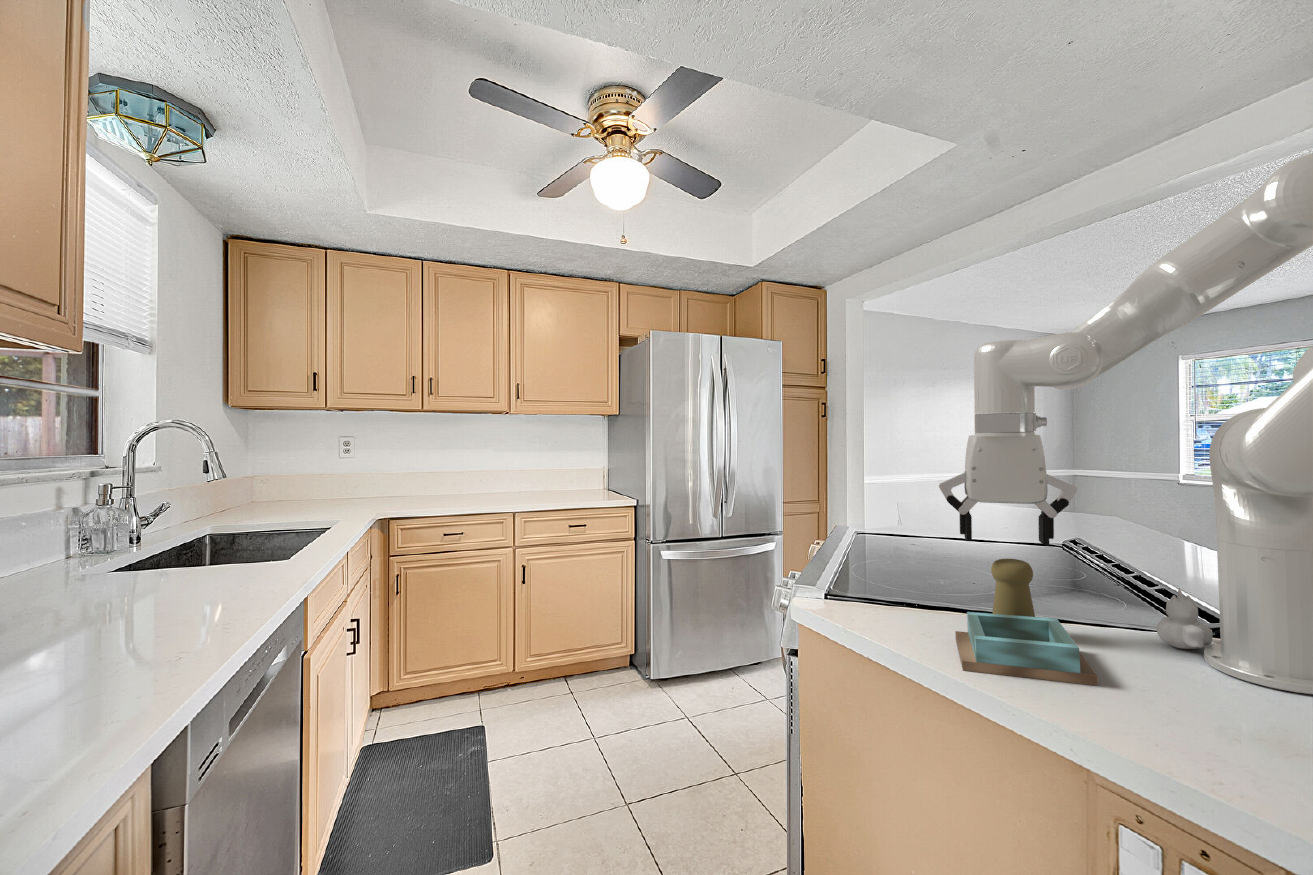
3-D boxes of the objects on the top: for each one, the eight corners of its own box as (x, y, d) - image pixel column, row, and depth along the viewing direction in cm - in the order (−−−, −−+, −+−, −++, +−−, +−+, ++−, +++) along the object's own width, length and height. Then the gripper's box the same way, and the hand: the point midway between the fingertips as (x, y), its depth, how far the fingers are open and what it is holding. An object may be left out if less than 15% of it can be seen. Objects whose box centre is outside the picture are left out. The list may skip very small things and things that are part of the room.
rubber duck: (1197, 641, 77) (1194, 583, 77) (1226, 661, 70) (1224, 598, 70) (1148, 638, 79) (1145, 581, 78) (1173, 657, 72) (1170, 595, 72)
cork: (1030, 627, 84) (1027, 555, 84) (1046, 643, 79) (1042, 565, 79) (985, 626, 86) (982, 555, 86) (997, 640, 80) (994, 564, 80)
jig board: (1072, 650, 76) (1070, 619, 76) (1097, 685, 66) (1096, 650, 66) (955, 639, 82) (954, 610, 82) (962, 670, 72) (961, 637, 71)
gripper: (1068, 424, 82) (1069, 539, 83) (936, 426, 89) (938, 533, 90) (1083, 425, 75) (1084, 551, 76) (939, 427, 82) (941, 543, 83)
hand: (1005, 541), depth 83 cm, fingers open, 9 cm apart
